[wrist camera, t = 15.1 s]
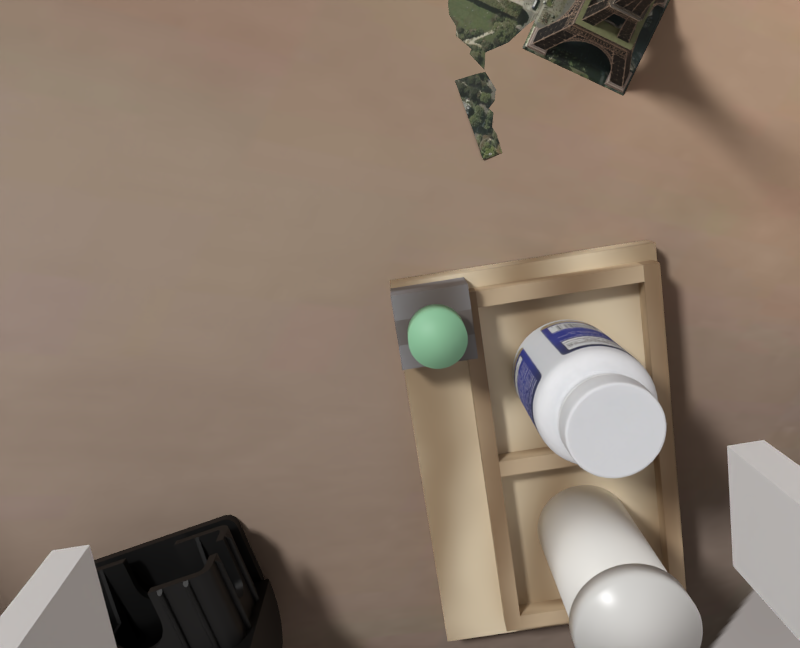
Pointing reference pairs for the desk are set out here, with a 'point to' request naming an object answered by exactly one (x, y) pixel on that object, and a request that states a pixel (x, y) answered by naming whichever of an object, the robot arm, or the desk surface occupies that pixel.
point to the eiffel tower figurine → (553, 44)
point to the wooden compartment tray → (525, 428)
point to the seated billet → (612, 576)
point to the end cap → (191, 591)
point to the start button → (437, 336)
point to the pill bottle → (589, 399)
